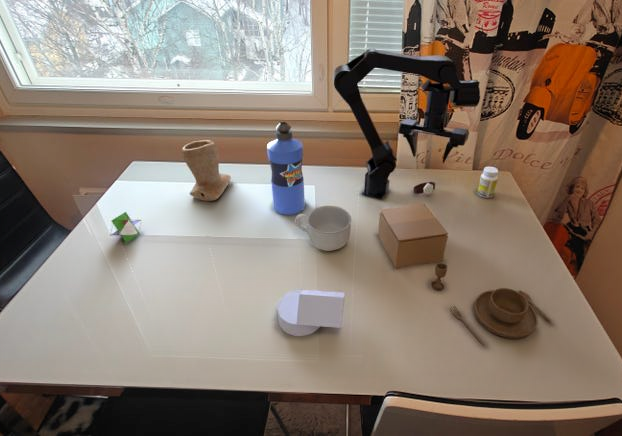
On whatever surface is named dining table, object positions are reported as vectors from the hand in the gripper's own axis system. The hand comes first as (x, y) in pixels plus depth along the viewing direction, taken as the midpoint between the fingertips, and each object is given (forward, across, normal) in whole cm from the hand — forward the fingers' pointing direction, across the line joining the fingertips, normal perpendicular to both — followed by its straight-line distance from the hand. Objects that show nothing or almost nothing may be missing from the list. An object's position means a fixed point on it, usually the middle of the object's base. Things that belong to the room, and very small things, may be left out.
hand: (428, 159), depth 113 cm
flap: (+3, -3, +26) cm, 26 cm away
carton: (+11, -5, +28) cm, 31 cm away
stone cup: (+11, +59, +31) cm, 67 cm away
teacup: (+11, +15, +37) cm, 41 cm away
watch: (+11, 0, 0) cm, 11 cm away
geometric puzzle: (+11, +60, +59) cm, 85 cm away
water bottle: (+11, +32, +27) cm, 43 cm away
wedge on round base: (+11, +5, +60) cm, 61 cm away
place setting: (+11, -26, +38) cm, 48 cm away
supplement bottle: (+11, -17, -8) cm, 22 cm away
